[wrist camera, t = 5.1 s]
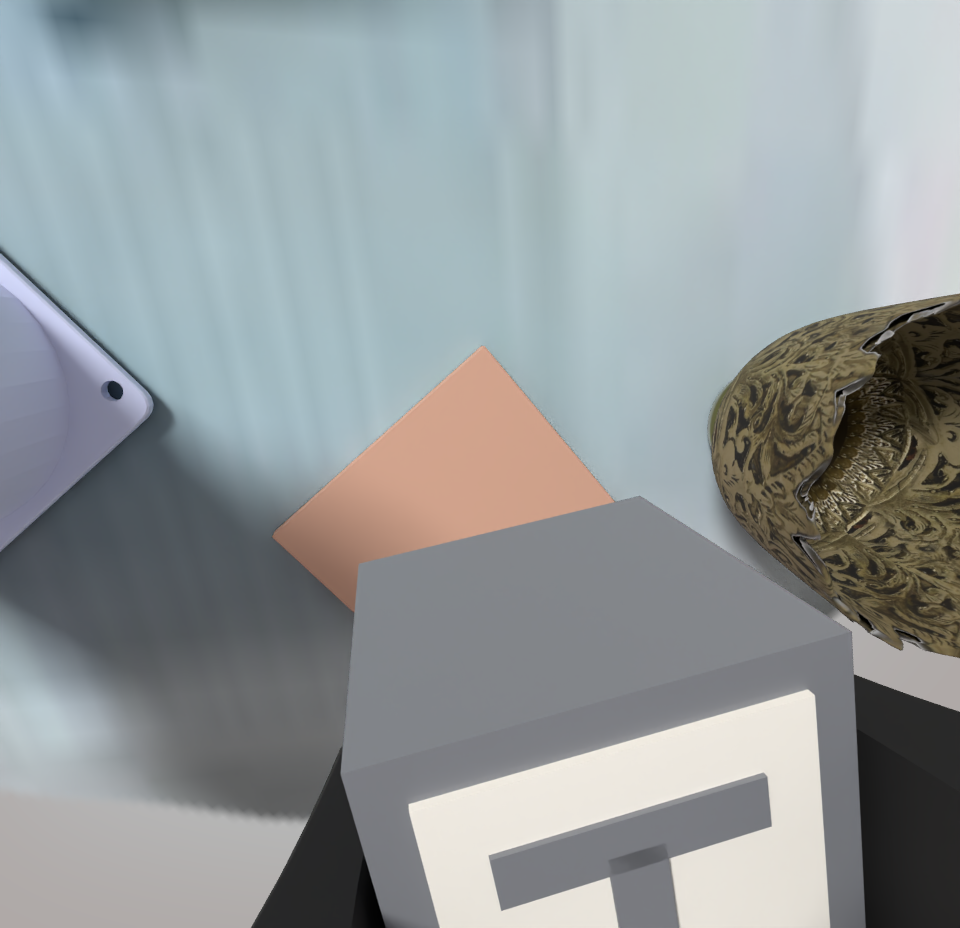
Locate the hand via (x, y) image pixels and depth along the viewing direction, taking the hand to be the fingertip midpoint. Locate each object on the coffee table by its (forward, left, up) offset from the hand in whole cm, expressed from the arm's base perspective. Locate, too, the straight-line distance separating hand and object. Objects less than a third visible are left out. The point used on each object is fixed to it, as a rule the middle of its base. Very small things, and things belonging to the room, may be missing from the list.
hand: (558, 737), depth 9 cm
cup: (+3, +9, -10) cm, 14 cm away
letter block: (0, 0, -2) cm, 2 cm away
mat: (0, 0, -10) cm, 10 cm away
